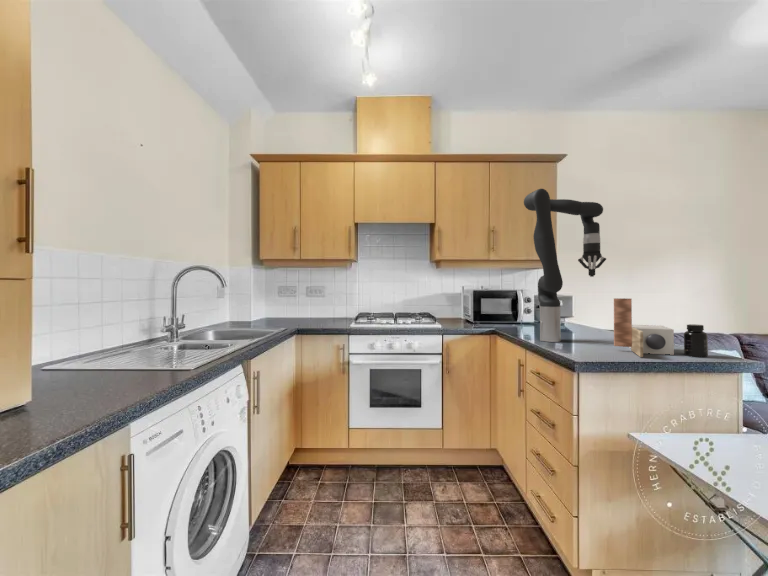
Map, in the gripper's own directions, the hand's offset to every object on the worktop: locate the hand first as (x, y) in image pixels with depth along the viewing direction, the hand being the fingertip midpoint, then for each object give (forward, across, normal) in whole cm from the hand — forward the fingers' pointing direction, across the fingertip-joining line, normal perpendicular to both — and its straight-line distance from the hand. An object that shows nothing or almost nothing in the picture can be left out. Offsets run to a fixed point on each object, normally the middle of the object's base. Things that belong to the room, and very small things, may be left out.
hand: (591, 276), depth 176 cm
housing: (+32, +17, -29) cm, 46 cm away
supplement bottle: (+32, +30, -35) cm, 56 cm away
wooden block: (+32, +7, -40) cm, 51 cm away
